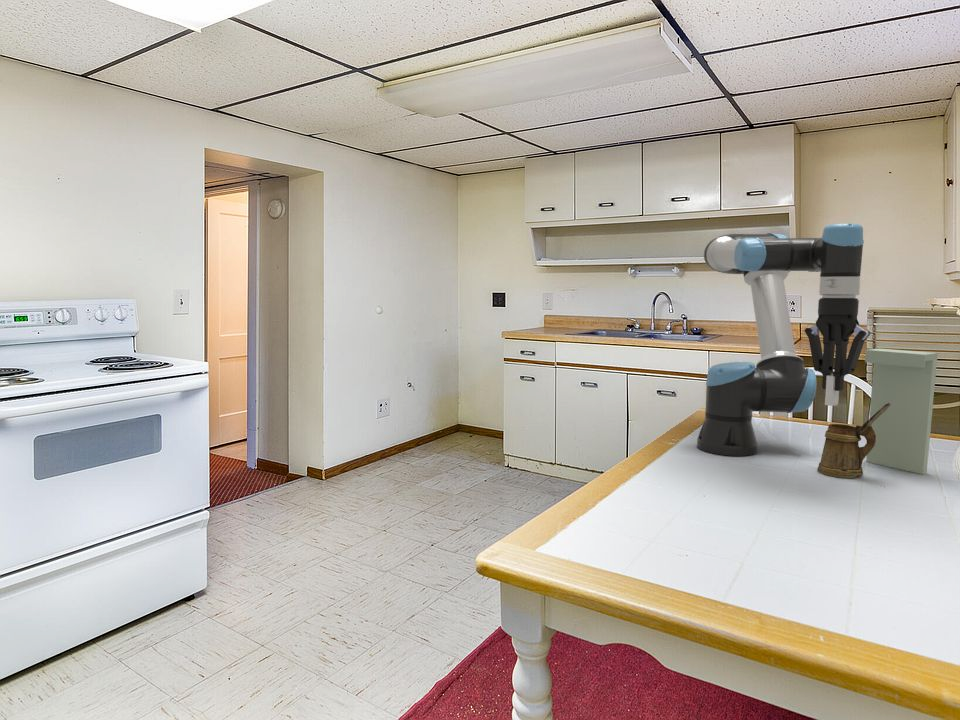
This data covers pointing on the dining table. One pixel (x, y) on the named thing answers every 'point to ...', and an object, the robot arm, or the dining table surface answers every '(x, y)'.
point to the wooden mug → (847, 448)
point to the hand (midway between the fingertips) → (831, 404)
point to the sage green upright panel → (902, 407)
